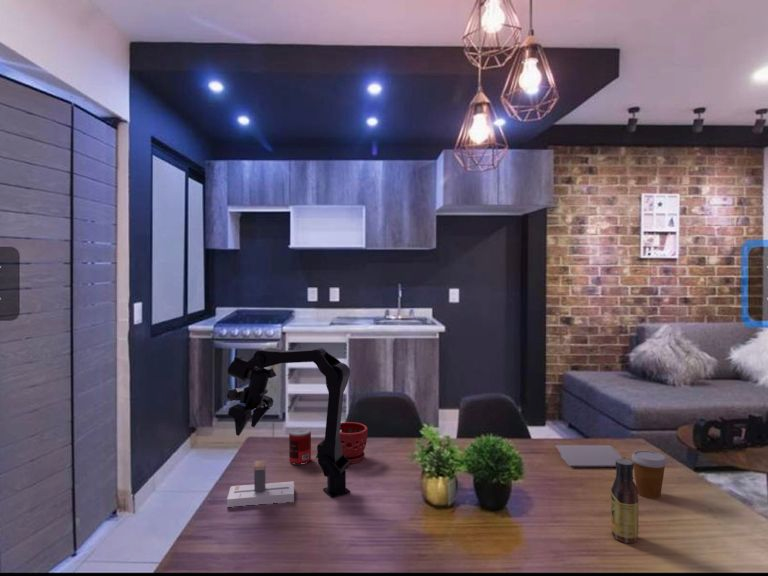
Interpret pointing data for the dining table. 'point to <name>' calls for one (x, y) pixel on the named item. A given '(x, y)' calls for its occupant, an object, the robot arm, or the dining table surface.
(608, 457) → the book
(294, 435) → the canned food
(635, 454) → the disposable coffee cup
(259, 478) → the slider handle
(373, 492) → the dining table surface
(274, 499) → the dimmer panel
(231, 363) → the robot arm
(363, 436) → the plant pot
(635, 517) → the sauce bottle
